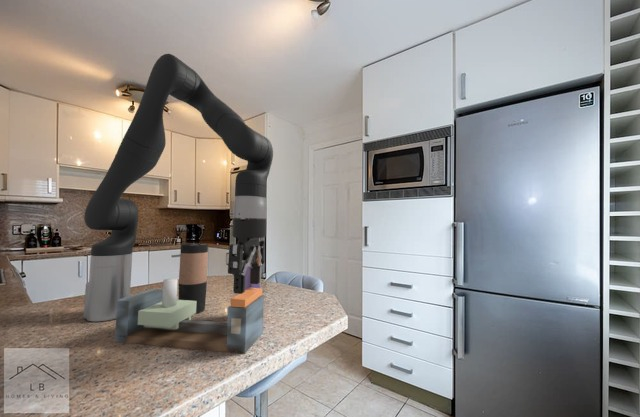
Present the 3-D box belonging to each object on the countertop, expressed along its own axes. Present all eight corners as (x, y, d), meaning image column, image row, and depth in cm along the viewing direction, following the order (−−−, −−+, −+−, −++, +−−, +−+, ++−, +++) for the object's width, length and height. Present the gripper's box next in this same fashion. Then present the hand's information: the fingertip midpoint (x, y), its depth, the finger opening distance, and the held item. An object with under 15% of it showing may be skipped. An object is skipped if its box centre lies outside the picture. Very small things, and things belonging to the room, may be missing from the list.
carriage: (137, 330, 56) (139, 283, 57) (167, 315, 65) (169, 275, 66) (169, 333, 55) (172, 285, 56) (195, 317, 64) (197, 276, 65)
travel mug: (176, 317, 72) (180, 245, 73) (177, 308, 78) (180, 243, 80) (206, 313, 75) (209, 244, 76) (205, 305, 82) (207, 242, 83)
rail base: (113, 342, 56) (115, 300, 57) (150, 324, 66) (152, 288, 67) (244, 354, 52) (245, 309, 52) (262, 332, 62) (263, 295, 63)
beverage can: (254, 322, 68) (255, 266, 69) (233, 320, 70) (235, 265, 71) (263, 314, 74) (264, 262, 75) (244, 313, 76) (246, 261, 76)
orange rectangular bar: (230, 306, 53) (230, 298, 54) (249, 294, 63) (249, 287, 63) (244, 307, 53) (245, 299, 53) (261, 294, 62) (262, 288, 63)
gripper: (247, 217, 67) (245, 280, 66) (218, 215, 53) (214, 295, 52) (275, 217, 66) (273, 282, 65) (253, 216, 51) (250, 298, 51)
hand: (247, 288), depth 58 cm, fingers open, 8 cm apart
